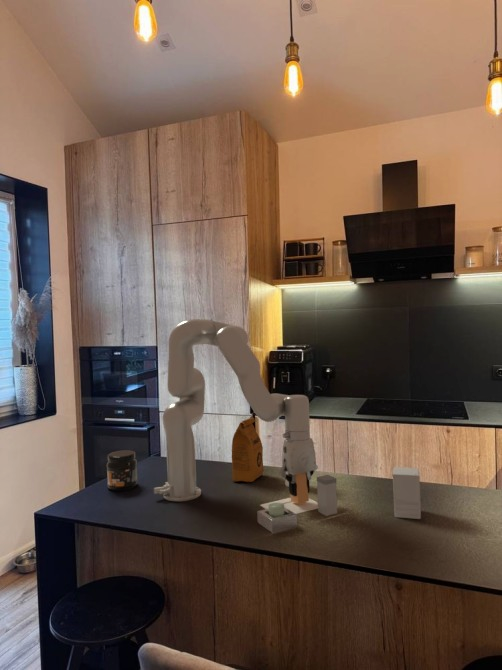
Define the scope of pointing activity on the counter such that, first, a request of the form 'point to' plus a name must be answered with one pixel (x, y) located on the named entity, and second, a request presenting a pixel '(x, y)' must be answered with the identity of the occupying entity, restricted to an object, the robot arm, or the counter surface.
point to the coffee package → (246, 453)
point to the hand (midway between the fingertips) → (299, 492)
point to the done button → (276, 509)
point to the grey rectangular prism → (327, 495)
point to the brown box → (300, 489)
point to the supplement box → (406, 492)
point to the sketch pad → (295, 505)
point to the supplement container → (122, 470)
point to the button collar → (277, 520)
